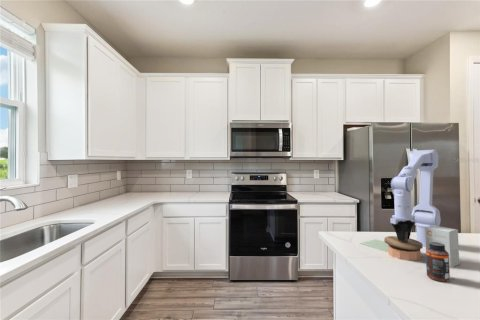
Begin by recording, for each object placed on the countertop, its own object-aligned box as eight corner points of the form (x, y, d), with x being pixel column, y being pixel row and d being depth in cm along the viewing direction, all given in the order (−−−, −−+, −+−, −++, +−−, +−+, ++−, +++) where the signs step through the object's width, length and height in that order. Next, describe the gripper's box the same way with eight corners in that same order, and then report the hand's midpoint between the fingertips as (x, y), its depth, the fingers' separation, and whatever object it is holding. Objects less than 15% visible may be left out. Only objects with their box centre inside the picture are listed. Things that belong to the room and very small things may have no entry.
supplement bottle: (454, 283, 77) (453, 247, 78) (432, 281, 79) (431, 245, 79) (442, 275, 83) (441, 241, 84) (422, 273, 84) (422, 240, 85)
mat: (375, 240, 122) (375, 239, 122) (403, 247, 111) (403, 246, 111) (359, 244, 116) (359, 243, 116) (387, 252, 105) (386, 251, 105)
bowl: (397, 250, 108) (397, 241, 108) (425, 258, 98) (425, 248, 98) (383, 255, 102) (382, 245, 102) (411, 264, 93) (411, 253, 93)
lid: (395, 238, 109) (395, 225, 109) (429, 248, 98) (429, 233, 98) (377, 243, 103) (377, 229, 103) (411, 254, 92) (412, 238, 92)
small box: (459, 264, 92) (458, 229, 92) (450, 267, 89) (449, 231, 89) (434, 257, 99) (433, 224, 99) (425, 260, 96) (424, 226, 96)
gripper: (401, 203, 108) (402, 234, 107) (382, 206, 101) (383, 239, 100) (420, 205, 102) (421, 238, 101) (400, 208, 95) (401, 244, 94)
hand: (403, 239), depth 100 cm, fingers closed on lid, 3 cm apart
